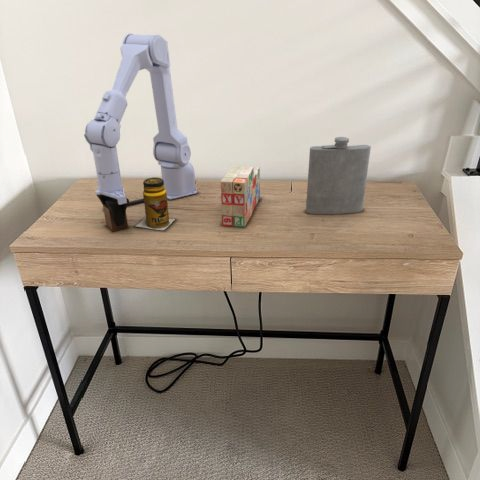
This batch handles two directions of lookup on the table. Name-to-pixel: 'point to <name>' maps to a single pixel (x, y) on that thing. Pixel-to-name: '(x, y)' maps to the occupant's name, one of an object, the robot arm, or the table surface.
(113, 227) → the walnut block
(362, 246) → the table surface
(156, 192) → the condiment
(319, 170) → the hip flask
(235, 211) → the stack of blocks
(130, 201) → the serving spoon
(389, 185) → the table surface
